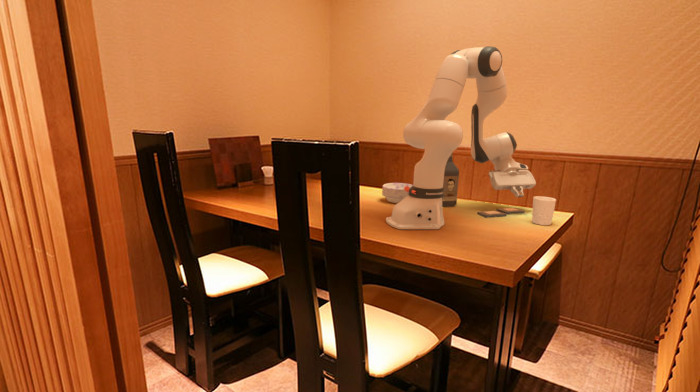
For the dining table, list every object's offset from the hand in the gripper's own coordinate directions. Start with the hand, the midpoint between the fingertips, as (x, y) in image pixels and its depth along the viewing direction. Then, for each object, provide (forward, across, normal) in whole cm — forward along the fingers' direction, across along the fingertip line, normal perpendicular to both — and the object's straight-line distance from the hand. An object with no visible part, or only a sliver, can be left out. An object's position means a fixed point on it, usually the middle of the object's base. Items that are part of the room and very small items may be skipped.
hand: (520, 196), depth 156 cm
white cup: (+15, 0, -3) cm, 15 cm away
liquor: (-10, -22, +22) cm, 33 cm away
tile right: (+2, 0, +9) cm, 9 cm away
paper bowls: (-18, -41, +30) cm, 54 cm away
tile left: (+4, -12, +7) cm, 15 cm away
